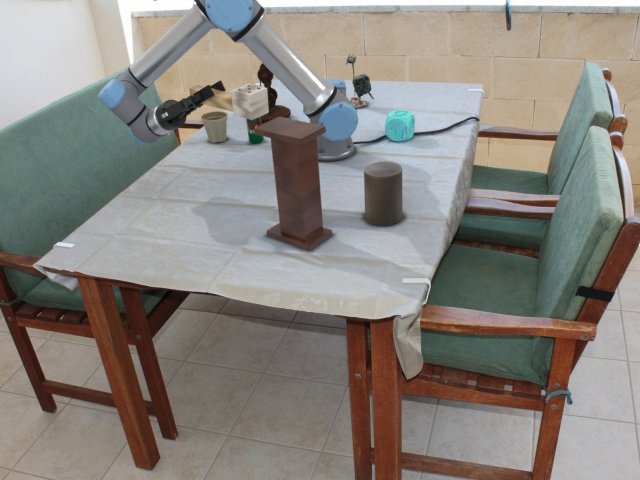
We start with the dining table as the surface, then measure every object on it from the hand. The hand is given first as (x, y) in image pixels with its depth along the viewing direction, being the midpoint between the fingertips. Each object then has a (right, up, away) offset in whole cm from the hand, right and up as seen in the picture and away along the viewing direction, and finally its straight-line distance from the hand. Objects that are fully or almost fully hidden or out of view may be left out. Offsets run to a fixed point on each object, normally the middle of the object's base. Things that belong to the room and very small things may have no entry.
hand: (216, 88), depth 157 cm
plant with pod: (+40, +17, +88) cm, 98 cm away
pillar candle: (+42, -31, +11) cm, 53 cm away
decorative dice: (+52, -1, +58) cm, 78 cm away
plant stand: (+20, -36, +6) cm, 41 cm away
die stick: (+2, -4, +1) cm, 5 cm away
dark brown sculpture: (+7, +11, +81) cm, 82 cm away
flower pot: (-10, 0, +67) cm, 67 cm away
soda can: (+4, -1, +63) cm, 63 cm away
